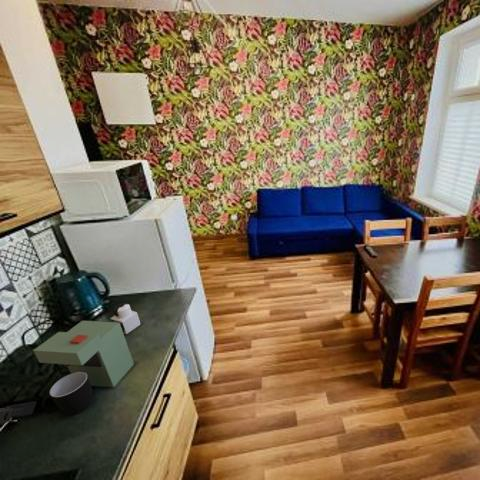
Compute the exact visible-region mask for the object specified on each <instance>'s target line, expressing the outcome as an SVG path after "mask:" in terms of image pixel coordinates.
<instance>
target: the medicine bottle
mask: <svg viewBox="0 0 480 480" xmlns="http://www.w3.org/2000/svg"><path fill="white" fill-rule="evenodd" d="M112 312H113V316H112V317H110V320H111V321H110V322H116V323H120V326H121V329H122V331H123V334H124V335H128V334H129V333H131V332H132V331H133V330H135V329H137V328H138V327H139V326H141V320H140V318H139V314H138V312H137V311H134V310H132V308H131V305H130V303H128V302H123V303H119V304H117V305H115V306H114V307H113V308H112Z"/></svg>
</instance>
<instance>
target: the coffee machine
mask: <svg viewBox="0 0 480 480" xmlns="http://www.w3.org/2000/svg"><path fill="white" fill-rule="evenodd" d="M32 351H33V353H34V355H35V357H36V359H37V361H38V362H39V363H40V364H55V365H63V367H65V368H67V369H68V370H69V372H70V374H72V373H76V372H85V373H86V374H87V375H88V377H89V380H90V383H91V386H92V387H105V388H115V387H116V386H117V384H118V383H120V381H121V380H122V379H123V377H124V376H125V375H126V374H127V373H128V372H129V370H131V368H133V366H134V364H135V363H134V360H133V356H132V354H131V351H130V349H129V346H128V343H127V339H126V337H125V334H123V331H122V329H121V326H120V323H116V322H112V321H95V320H81V321H80V322H79V323H77V324H76V325H74V326H73V327H72V328H70V329H69V330H68V331H67V332H65V331H58V332H56V333H55V334H54V335H52V336H51V337H49V338H48V339H47V340H46V341H44V342H43V343H41V344H40V345H38V346H37V347H35V348H34V349H33V350H32Z"/></svg>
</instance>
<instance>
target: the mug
mask: <svg viewBox="0 0 480 480" xmlns="http://www.w3.org/2000/svg"><path fill="white" fill-rule="evenodd" d="M50 398H51V399H52V401H53V402H54V403H55V405H56V406H50V405H47V404H46V401H48V399H50ZM93 399H94V392H93V386H91V383H90V380H89V377H88V375H87V374H86V373H85V372H76V373H72V374H71V373H70V374H68V375H64V376H63V377H62V378H60V379H59V380H57V381H56V382H55V383H53V385H52V386H51V388H50V390H49V394H47V395H46V396H44V397H43V400H42V401H41V407H42V408H43V409H44V410H46V411H59V410H60V411H62V412H63V413H64V414H66V415H68V416H75V415H79V414H81V413H82V412H84V411H86V410H87V409H88V408H89V407H90V406H91V404H92V402H93Z"/></svg>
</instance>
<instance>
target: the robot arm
mask: <svg viewBox="0 0 480 480" xmlns="http://www.w3.org/2000/svg"><path fill="white" fill-rule="evenodd" d="M36 405H37V401H30V402H23V403H17V404H13V405H7V406H5V407H0V426H2V425H5V423H6V424H7V423H9V422H10V421H11V420H12V419H14V418H19V417H25V416H29V415H32V414H33V413H34V410H35V408H36Z"/></svg>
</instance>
